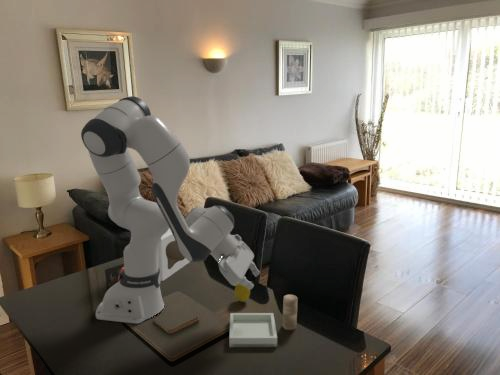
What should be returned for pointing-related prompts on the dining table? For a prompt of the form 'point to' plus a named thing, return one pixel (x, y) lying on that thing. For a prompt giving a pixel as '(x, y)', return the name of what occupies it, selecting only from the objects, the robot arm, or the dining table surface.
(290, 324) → the dowel
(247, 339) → the tray
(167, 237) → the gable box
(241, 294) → the lemon
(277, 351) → the dining table surface
